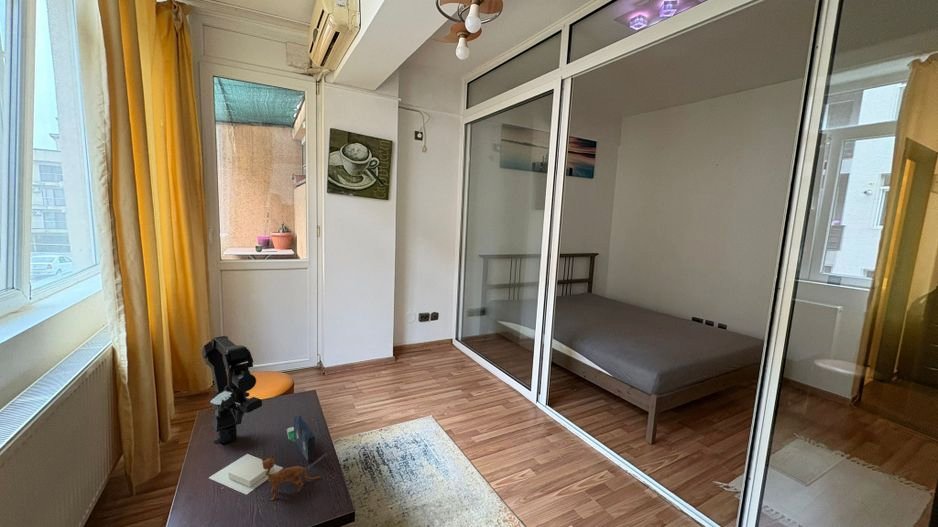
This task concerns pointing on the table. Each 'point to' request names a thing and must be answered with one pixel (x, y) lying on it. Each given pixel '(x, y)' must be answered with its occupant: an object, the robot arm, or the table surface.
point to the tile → (249, 472)
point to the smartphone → (290, 433)
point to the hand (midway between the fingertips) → (238, 422)
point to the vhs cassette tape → (304, 438)
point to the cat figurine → (284, 475)
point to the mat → (225, 480)
